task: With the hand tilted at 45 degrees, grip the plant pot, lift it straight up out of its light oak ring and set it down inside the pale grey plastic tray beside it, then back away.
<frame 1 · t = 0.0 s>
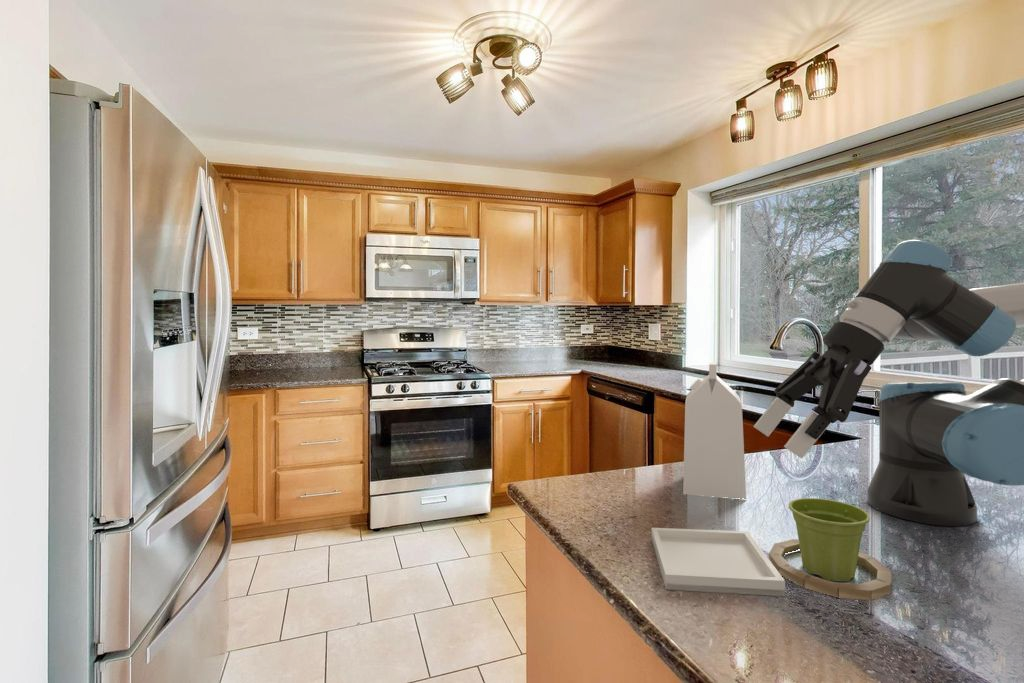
hand: (775, 441, 79), 15 cm above the worktop, tool tilted 35°, fingers open, 13 cm apart
oak ring: (827, 570, 68), on the worktop
milk: (713, 488, 102), on the worktop
grey tray: (710, 564, 71), on the worktop
plant pot: (827, 572, 68), resting in oak ring
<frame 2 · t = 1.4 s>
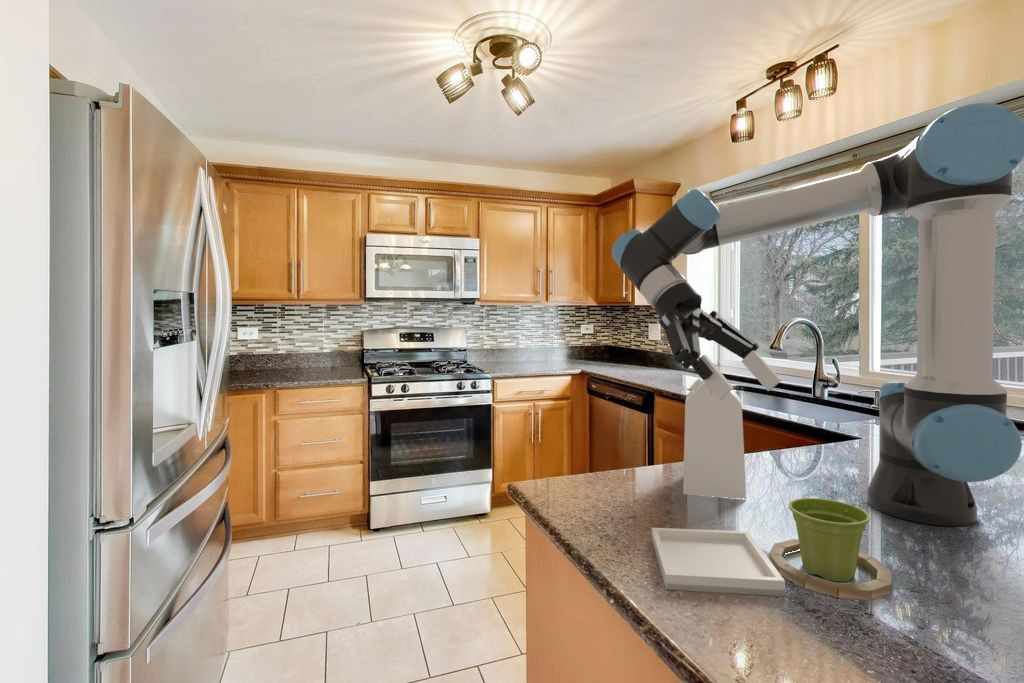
hand: (751, 389, 76), 24 cm above the worktop, tool tilted 45°, fingers open, 13 cm apart
nothing on the worktop moved.
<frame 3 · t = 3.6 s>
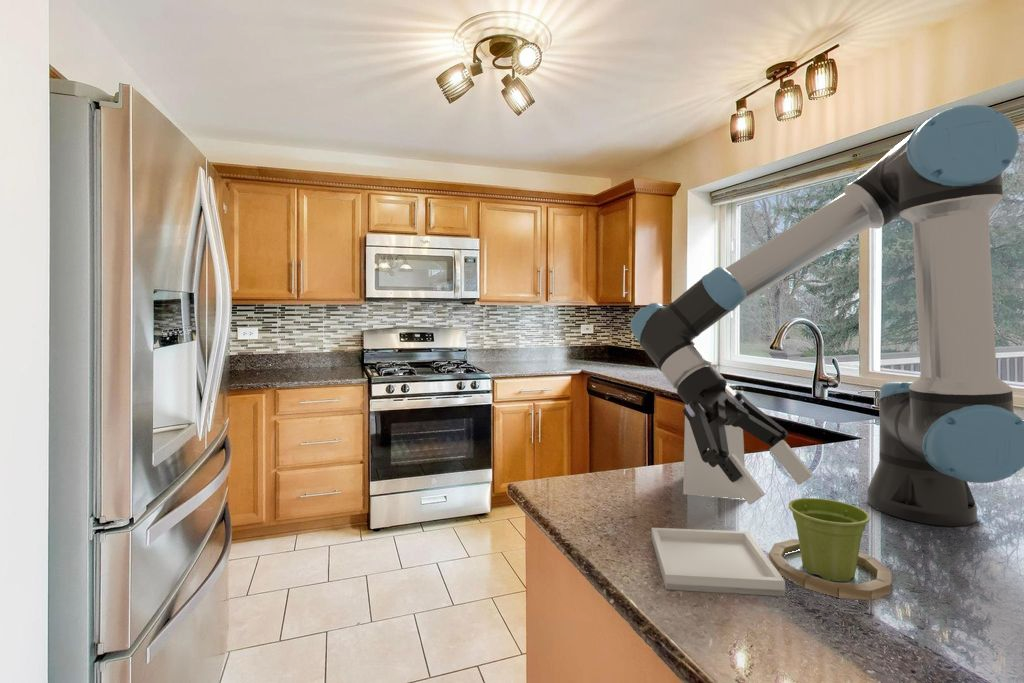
hand: (783, 489, 72), 10 cm above the worktop, tool tilted 45°, fingers open, 13 cm apart
nothing on the worktop moved.
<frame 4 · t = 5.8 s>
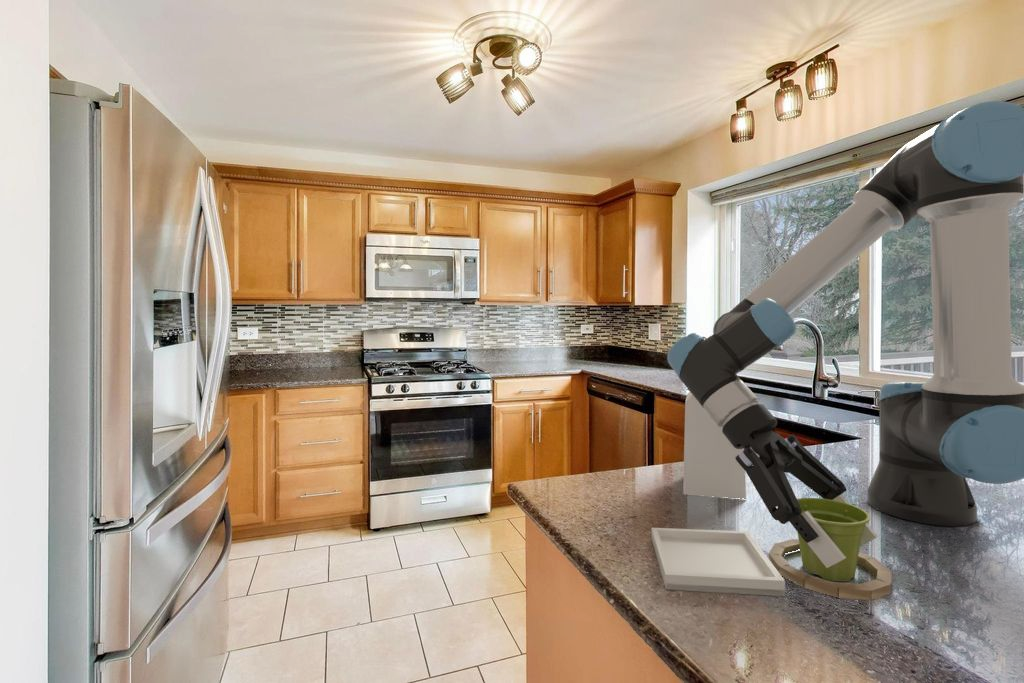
hand: (853, 551, 65), 4 cm above the worktop, tool tilted 45°, fingers closed on plant pot, 9 cm apart
plant pot: (827, 572, 68), resting in oak ring, touching gripper
everything else where it was.
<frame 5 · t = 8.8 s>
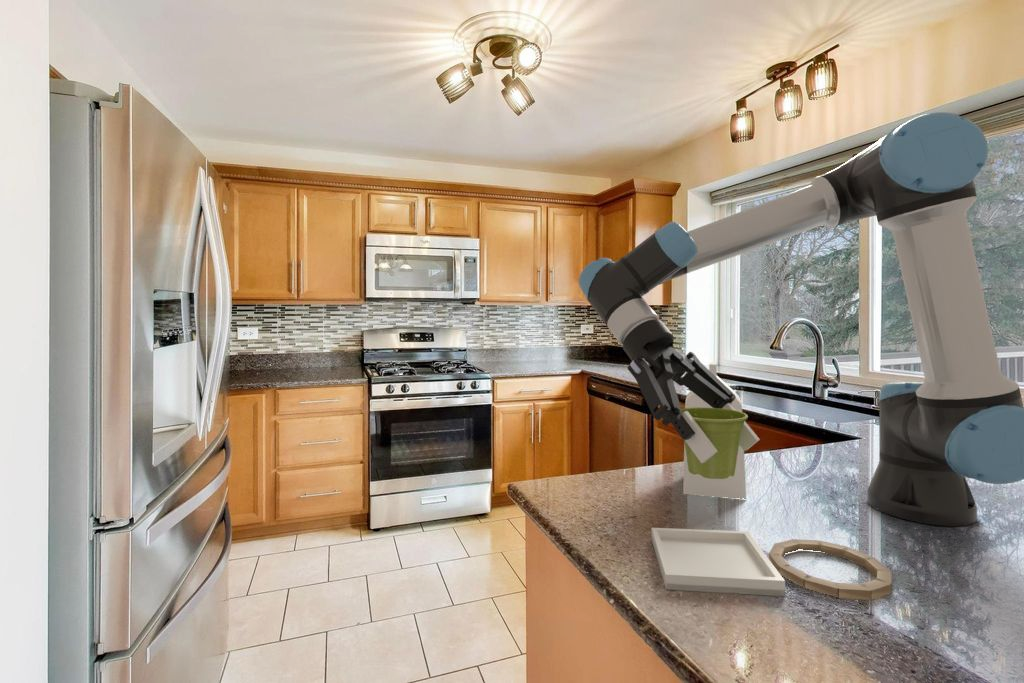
hand: (731, 451, 67), 17 cm above the worktop, tool tilted 45°, fingers closed on plant pot, 9 cm apart
plant pot: (710, 474, 70), point 13 cm above the worktop, touching gripper
everything else where it was.
when the fingers open (6 cm above the worktop, at t = 11.8 s): plant pot drops 1 cm, resting on grey tray.
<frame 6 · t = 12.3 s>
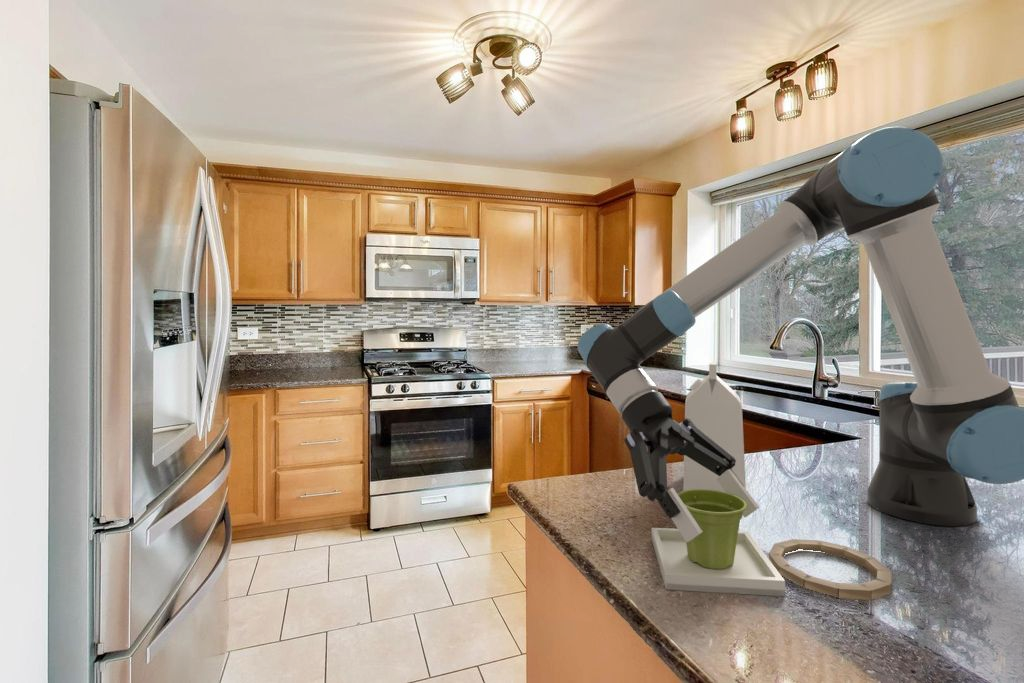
hand: (725, 524, 68), 7 cm above the worktop, tool tilted 45°, fingers open, 13 cm apart
plant pot: (710, 560, 71), point 1 cm above the worktop, touching grey tray
everything else where it was.
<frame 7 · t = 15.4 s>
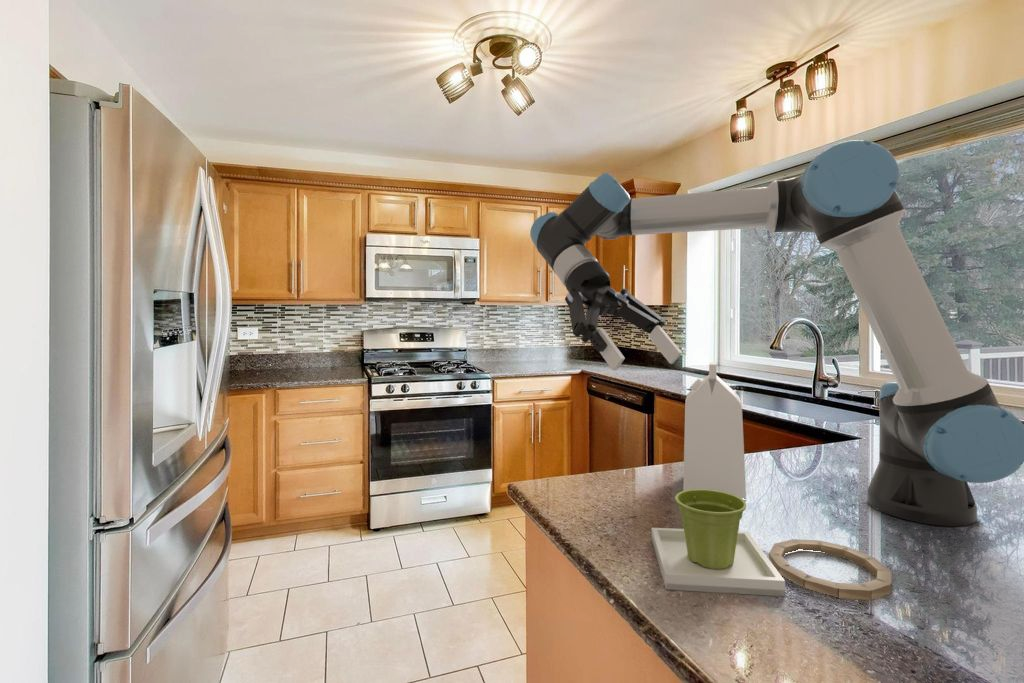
hand: (649, 361, 78), 29 cm above the worktop, tool tilted 45°, fingers open, 13 cm apart
nothing on the worktop moved.
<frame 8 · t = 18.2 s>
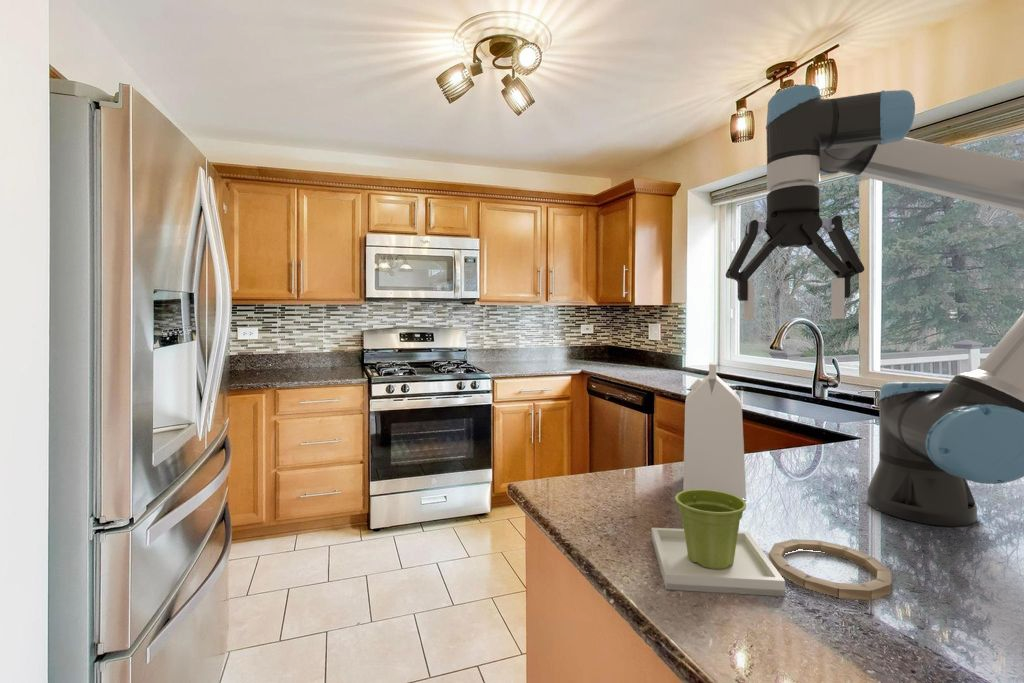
hand: (792, 320, 81), 35 cm above the worktop, tool pointing down, fingers open, 13 cm apart
nothing on the worktop moved.
at the end: plant pot inside the target area on the grey tray (0.0 cm from its centre), point 0.6 cm above the grey tray's base; plant pot tilted 0°; the gripper is holding nothing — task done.
